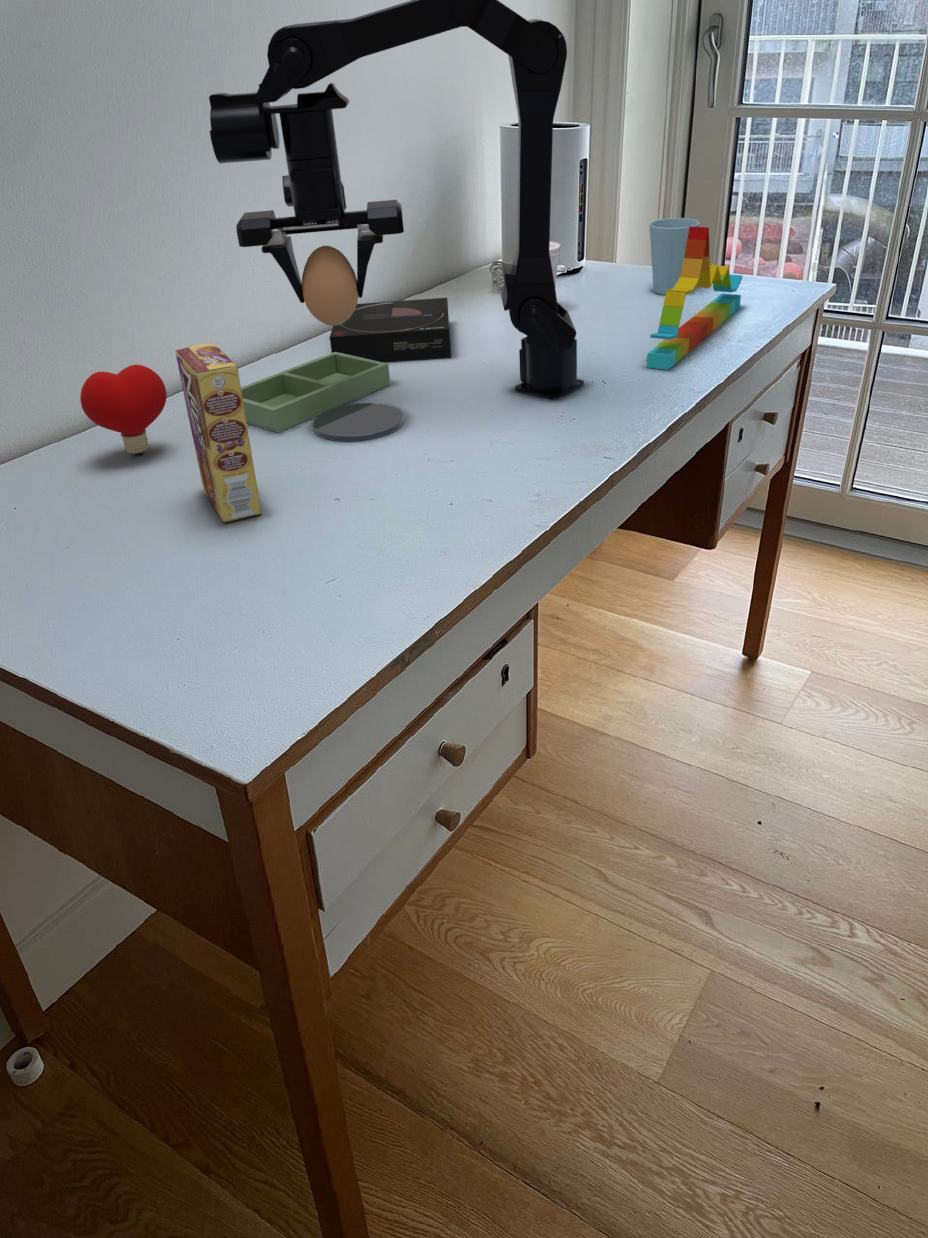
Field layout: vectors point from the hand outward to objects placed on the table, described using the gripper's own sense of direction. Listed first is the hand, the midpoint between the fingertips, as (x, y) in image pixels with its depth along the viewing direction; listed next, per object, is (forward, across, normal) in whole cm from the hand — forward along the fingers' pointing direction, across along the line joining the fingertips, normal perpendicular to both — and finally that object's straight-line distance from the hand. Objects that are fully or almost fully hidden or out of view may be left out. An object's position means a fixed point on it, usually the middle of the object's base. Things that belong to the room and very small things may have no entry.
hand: (331, 299), depth 117 cm
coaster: (+13, -2, +8) cm, 15 cm away
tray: (+13, +5, -2) cm, 14 cm away
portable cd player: (+13, -6, -23) cm, 27 cm away
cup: (+13, -51, -39) cm, 66 cm away
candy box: (+13, +11, +27) cm, 32 cm away
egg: (+3, 0, 0) cm, 3 cm away
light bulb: (+13, +24, +12) cm, 29 cm away
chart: (+13, -49, -15) cm, 53 cm away
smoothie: (+13, -30, -34) cm, 47 cm away
